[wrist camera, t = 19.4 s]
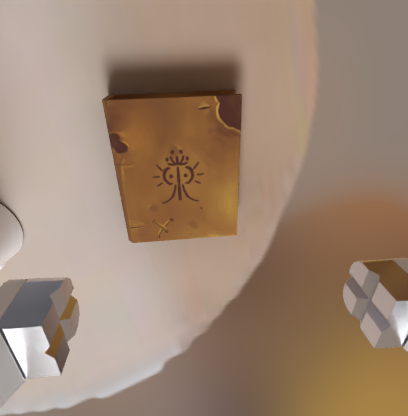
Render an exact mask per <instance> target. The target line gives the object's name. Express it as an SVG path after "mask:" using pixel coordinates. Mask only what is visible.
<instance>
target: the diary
mask: <svg viewBox="0 0 408 416" xmlns="http://www.w3.org/2000/svg"><path fill="white" fill-rule="evenodd" d="M102 102H103V107H104V112H105V117H106V123H107V128H108V133H109V138H110V143H111V149H112V154H113V159H114V164H115V169H116V175H117V180H118V185H119V190H120V195H121V201H122V206H123V211H124V216H125V221H126V227H127V232H128V237H129V240H130V241H131V242H133V243H138V242H151V241H164V240H177V239H190V238H203V237H216V236H230V235H237V213H238V186H239V159H240V132H241V105H242V95H241V94H235V90H226V91H202V92H177V93H153V94H128V95H109V96H107V97H105V98H104V99H102Z"/></svg>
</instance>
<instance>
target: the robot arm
mask: <svg viewBox="0 0 408 416" xmlns="http://www.w3.org/2000/svg"><path fill="white" fill-rule="evenodd" d="M22 243H23V231H22V228H21V226H20V224H19V222H18V220H17V219H16V217H15V216H14V215H13V214H12V213H11V212H10V211H9V210H8V209H7V208H6V207H4V206H3V205H1V204H0V270H1V269H2V268H3V267H4V265H5V263H6V261H7V260H8V259H10V258H11V257H12V256H14V255H15V254H16V253H17V252H18V251H19V250H20V248H21V246H22ZM349 272H350V274H351V276H352V278H350V279H349V280H348V281H347V282H346V283H345V286H344V289H343V297H344V301H345V305H346V307H347V309H348V310H349V312H350V313H351V315H353V316H355V317H356V318H358V319H359V320H360V321H361V322H360V328H361V330H362V331H363V333H364V334H365V336H366V337H367V338H368V340H369V341H370V343H371V344H372V346H373V347H374V348H387V347H404V349H405V350H407V351H408V259H406V258H397V259H387V260H370V261H355V262H354V263H353V264H352V266H351V268H350V271H349ZM73 288H74V287H73V285H72V282H71V279H69V278H37V279H18V280H8V281H7V282H5V283H3V285H2V286H1V287H0V408H1V407H2V406H3V405H4V404H5V402H6V401H7V400H8V399H9V398H10V397H11V396H12V395H13V394H14V393H15V392H16V391H17V390H18V388H19V387H20V386H21V385H22V384H23V383H24V382H25V379H31V378H39V377H48V376H57V375H61V374H62V371H63V368H64V365H65V362H66V360H67V357H68V354H69V351H70V349H69V346H68V343H67V342H68V341H69V340H70V339H71V338H72V337H73V336H74V335H75V333H76V330H77V327H78V322H79V305H78V301H77V299H75V298H74V297H73V296H71V293H72V291H73Z"/></svg>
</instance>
